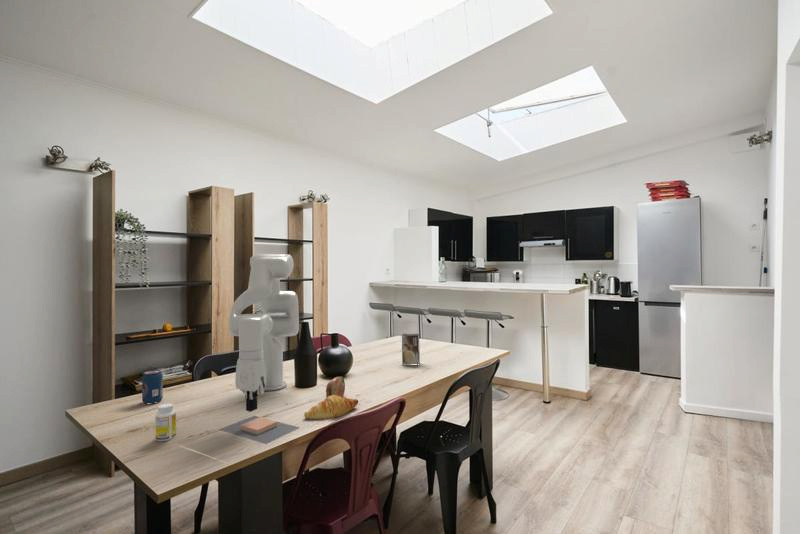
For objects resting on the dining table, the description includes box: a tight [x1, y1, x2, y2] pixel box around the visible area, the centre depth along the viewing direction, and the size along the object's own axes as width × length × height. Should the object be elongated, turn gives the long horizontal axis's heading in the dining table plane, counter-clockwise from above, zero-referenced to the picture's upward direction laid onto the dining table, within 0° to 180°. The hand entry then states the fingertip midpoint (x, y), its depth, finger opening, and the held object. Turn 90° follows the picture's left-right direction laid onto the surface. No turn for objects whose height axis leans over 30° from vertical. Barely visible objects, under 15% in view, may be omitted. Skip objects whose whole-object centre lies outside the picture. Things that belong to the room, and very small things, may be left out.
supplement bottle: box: [154, 402, 177, 442], centre depth 126 cm, size 6×6×10 cm
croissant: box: [303, 395, 359, 420], centre depth 146 cm, size 21×10×8 cm, turn 127°
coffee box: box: [401, 333, 421, 366], centre depth 219 cm, size 9×6×16 cm
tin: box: [325, 376, 346, 398], centre depth 161 cm, size 15×3×8 cm, turn 168°
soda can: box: [141, 369, 164, 405], centre depth 160 cm, size 7×7×12 cm
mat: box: [219, 415, 301, 445], centre depth 132 cm, size 22×14×1 cm, turn 60°
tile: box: [241, 416, 278, 435], centre depth 132 cm, size 2×8×8 cm
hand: (251, 410), depth 134 cm, fingers closed
